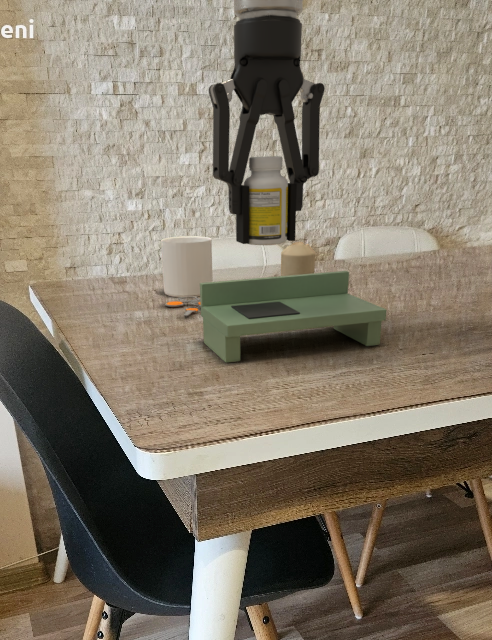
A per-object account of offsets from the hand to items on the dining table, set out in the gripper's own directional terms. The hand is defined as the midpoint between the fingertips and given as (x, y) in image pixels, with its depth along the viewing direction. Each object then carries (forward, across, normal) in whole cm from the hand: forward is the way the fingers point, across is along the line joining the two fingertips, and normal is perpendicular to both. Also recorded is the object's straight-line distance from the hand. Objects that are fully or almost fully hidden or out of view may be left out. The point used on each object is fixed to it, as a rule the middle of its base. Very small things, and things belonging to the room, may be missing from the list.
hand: (265, 240), depth 84 cm
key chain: (+14, +3, -26) cm, 30 cm away
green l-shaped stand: (+14, -4, 0) cm, 14 cm away
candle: (+14, -14, -21) cm, 29 cm away
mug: (+14, 0, -40) cm, 43 cm away
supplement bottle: (+1, 0, 0) cm, 1 cm away
